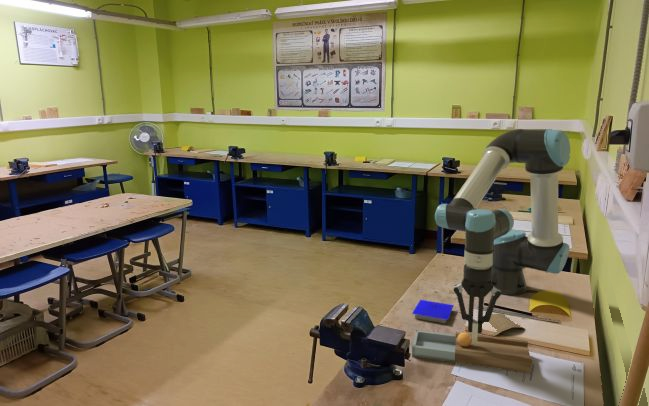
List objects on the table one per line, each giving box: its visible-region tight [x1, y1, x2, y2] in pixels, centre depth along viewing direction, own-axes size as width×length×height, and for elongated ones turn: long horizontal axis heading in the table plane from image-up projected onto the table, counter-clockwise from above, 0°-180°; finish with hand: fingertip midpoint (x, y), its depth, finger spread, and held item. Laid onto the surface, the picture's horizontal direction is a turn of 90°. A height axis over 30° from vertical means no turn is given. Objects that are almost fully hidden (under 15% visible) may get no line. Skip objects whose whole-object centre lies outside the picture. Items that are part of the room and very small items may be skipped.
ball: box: [457, 331, 472, 347], centre depth 129 cm, size 4×4×4 cm
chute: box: [455, 332, 533, 374], centre depth 127 cm, size 10×20×4 cm, turn 72°
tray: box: [411, 329, 456, 364], centre depth 132 cm, size 10×12×3 cm
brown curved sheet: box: [489, 313, 522, 337], centre depth 146 cm, size 14×10×3 cm
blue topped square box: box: [411, 299, 454, 324], centre depth 155 cm, size 12×12×5 cm
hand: (474, 342), depth 128 cm, fingers closed
